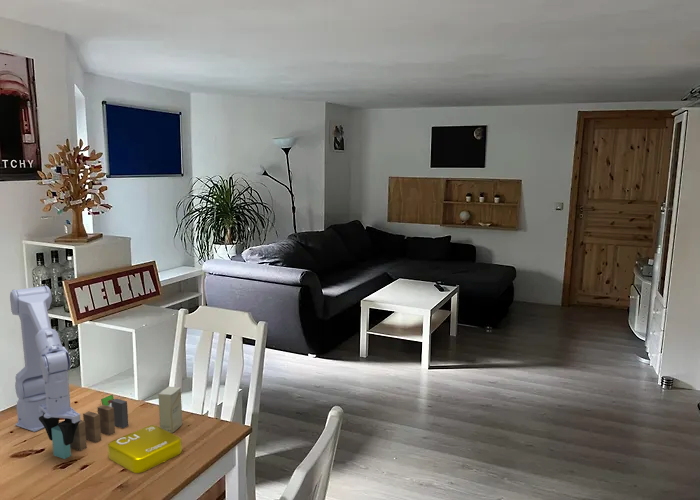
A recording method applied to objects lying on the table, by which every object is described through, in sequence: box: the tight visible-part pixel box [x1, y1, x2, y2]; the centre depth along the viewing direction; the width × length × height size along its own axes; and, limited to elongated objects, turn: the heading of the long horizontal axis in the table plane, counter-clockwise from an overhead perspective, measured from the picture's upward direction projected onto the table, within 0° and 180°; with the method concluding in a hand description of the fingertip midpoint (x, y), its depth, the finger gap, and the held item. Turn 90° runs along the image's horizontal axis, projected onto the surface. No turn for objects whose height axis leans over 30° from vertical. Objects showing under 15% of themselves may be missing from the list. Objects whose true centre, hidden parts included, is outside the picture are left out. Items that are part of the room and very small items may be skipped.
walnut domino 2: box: [82, 410, 102, 444], centre depth 164 cm, size 4×2×8 cm, turn 64°
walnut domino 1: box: [70, 420, 87, 452], centre depth 159 cm, size 4×2×8 cm, turn 64°
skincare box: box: [157, 385, 183, 434], centre depth 171 cm, size 6×4×12 cm
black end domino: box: [111, 398, 129, 429], centre depth 173 cm, size 4×2×8 cm, turn 64°
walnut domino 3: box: [97, 404, 116, 436], centre depth 168 cm, size 4×2×8 cm, turn 64°
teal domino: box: [51, 425, 72, 460], centre depth 155 cm, size 4×2×8 cm, turn 64°
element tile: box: [107, 424, 183, 474], centre depth 157 cm, size 15×15×5 cm
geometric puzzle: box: [100, 393, 115, 407], centre depth 179 cm, size 7×7×8 cm
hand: (61, 441), depth 155 cm, fingers open, 6 cm apart
